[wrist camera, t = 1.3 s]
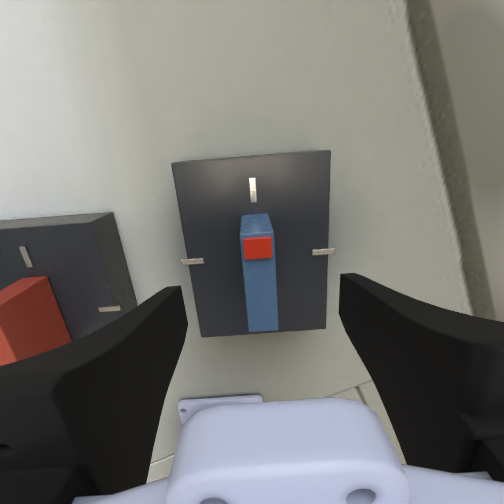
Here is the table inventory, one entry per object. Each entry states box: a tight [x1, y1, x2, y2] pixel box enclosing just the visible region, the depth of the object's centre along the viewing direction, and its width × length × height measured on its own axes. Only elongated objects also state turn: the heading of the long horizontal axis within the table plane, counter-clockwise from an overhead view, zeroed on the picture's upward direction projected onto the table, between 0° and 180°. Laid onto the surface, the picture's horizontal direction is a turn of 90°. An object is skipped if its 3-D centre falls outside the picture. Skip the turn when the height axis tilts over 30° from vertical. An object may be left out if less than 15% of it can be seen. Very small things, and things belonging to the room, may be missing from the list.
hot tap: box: [0, 276, 72, 366], centre depth 16 cm, size 6×2×4 cm, turn 4°
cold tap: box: [240, 213, 279, 332], centre depth 15 cm, size 6×2×4 cm, turn 4°
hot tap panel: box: [0, 212, 137, 341], centre depth 20 cm, size 12×10×3 cm
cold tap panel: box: [171, 150, 335, 337], centre depth 18 cm, size 12×10×3 cm
